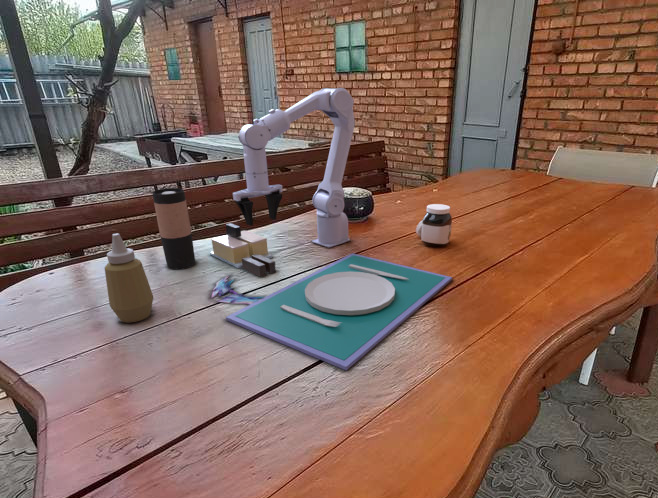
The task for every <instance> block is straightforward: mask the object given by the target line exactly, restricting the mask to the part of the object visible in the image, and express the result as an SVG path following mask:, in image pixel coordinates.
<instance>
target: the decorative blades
mask: <svg viewBox="0 0 658 498" xmlns="http://www.w3.org/2000/svg"><path fill="white" fill-rule="evenodd" d="M229 277H230V275H227V276H225V277H222V278H221V279H220V280H218V281H217V282H215V286H214V288H213V289H212V291H211V299H213V298H215V297H216V296H218V297H222V298H221V299H220V300H216V302H217V303H226V304H231V305H238V304H239V305H241V304H242V305H248V306H249V305H251V304H253V303H255V302H257V301H259V300H260V299H263V298H264V296H247V295H246V296H245V294H244V293H238V292H236V291H235V290H234V289H235V287H231V284H232V283H233V282H234V281H235V279H232V280H231V279H230V280H229V279H228V278H229Z"/></svg>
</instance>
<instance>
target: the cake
mask: <svg viewBox="0 0 658 498" xmlns="http://www.w3.org/2000/svg"><path fill="white" fill-rule="evenodd" d="M240 237H241V238H242V241H240V240H238V239H236V238H233V237H231V236H228V235H227V234H226V235H220V236H217V237H213V238H211V244H212V251H209V255H210V256H212V257H214V258H216V259H218V260H220V261H222V262H225V263H226V264H228V265H230V266H233V267H234V268H237V269H243V265H242V258H245V257H249V258H251V259H252V255H255V254H259V255H261V256H263V257H266V258H268V259H273V257H274V256H273V254H270V253H269V250H268V249H269V248H268V239H267V238H266V237H264V236H262V235H258V234H257V233H253V232H250V231H248V230H241V236H240Z"/></svg>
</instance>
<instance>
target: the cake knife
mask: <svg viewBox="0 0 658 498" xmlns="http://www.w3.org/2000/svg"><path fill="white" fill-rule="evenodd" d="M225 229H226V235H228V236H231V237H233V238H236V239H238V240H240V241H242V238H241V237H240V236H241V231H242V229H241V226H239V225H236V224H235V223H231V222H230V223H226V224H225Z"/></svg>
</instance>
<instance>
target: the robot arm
mask: <svg viewBox="0 0 658 498" xmlns="http://www.w3.org/2000/svg"><path fill="white" fill-rule="evenodd" d="M354 103H355V100H354V98H353V97H352V95H351V94H350V92H349V91H348V90H347V89H346V88H344V87H337V88H330V87H324V88H321V89H320V90H316V91H314V92H312V93H311V94H309V95H308V96H306V97H304V98H302V99H301V100H300V101H298V102H296V103H295V104H294V105H291V106H290V107H289V108H287V109H285V110H282V109H279V108H277V109H275V108H271V109H270V110H268V114H266V115H264V116H262V117H260V118H259V119H258V118H255V119H253V124H251V123H248V124H245V125H243V126H241V128H240V130H239V134H238V136H237V137H238V141H239V142H240V144H241V145H242V149H243V163H244V172H245V181H246V187H247V188H245V189H241V190H238V191H234V192H232V199H233V201H234V202H235V204H236V205H237V206H238V208H239V210H240V211H241V213H242V216H243V218H244V221H245V225H247V226H254V218H253V208H254V207H253V206H254V202H253V201H251V199H252V198H257V197H261V196H265V200H266V204H267V209H268V216H269V219H270V220H273V221H275V220H277V215H278V209H279V206H280V203H281V201H282V199H283V194H282V193H283V185H282V184H271V185H270V184H269V173H268V171H269V170H268V162H267V152H266V146H267V145H268V143H269V141H272V140H273V139H276V138H277V137H279V136H280V135H282V134H284V133H285V132H287V131H289V130H290V128H291V124H292V123H293V122H295V121H298V120H299V119H301V118H303V117H305V116H306V115H308V114H310V113H313V112H315V111H321V112H323V114H325V115H326V116H327V117H328V118H329V119H330V121H331V122H332V125H334V129H333V134H332V138H331V142H330V148H329V153H328V157H327V161H326V167H325V170H324V176H323V180H322V181H321V182H320V183H319V184H318V185H317V186H318V187H317V189H316V191H315V193H314V194H313V196H312V199H311V201H312V205H313V207H314V208H315V209H316V229H317V230H316V231H317V238H316V239H312V240H311V243H314V244H316V245H319V246H322V247H324V248H332V247H336V246H338V245H341V244H345V243H348V242H351V238H350V237H349V218H348V216H347V214H346V212H344V209H345V199H344V198H345V190H344V188H343V186H342V185H343V178H344V175H345V170H346V166H347V162H348V156H349V152H350V148H351V143H352V138H353V134H354V130H355V125H356V120H355V114H354V109H353V108H354Z"/></svg>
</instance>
